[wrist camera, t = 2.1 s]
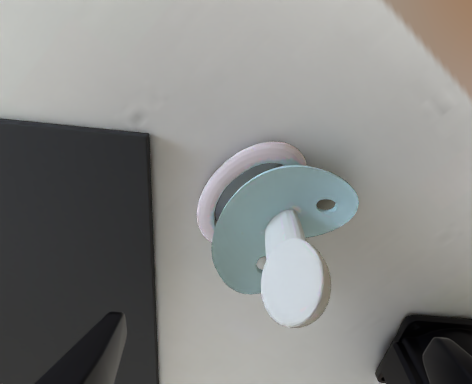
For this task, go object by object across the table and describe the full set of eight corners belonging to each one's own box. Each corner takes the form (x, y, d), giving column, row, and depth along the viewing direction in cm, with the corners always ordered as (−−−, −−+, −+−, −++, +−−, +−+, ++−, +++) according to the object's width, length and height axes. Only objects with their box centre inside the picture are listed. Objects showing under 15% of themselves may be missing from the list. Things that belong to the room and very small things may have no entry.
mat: (149, 133, 14) (146, 136, 13) (159, 388, 23) (157, 395, 23) (-206, 97, 13) (-222, 100, 13) (-45, 374, 23) (-51, 380, 22)
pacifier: (173, 219, 16) (263, 275, 17) (133, 319, 10) (269, 388, 12) (264, 105, 13) (361, 184, 15) (275, 160, 7) (431, 278, 9)
